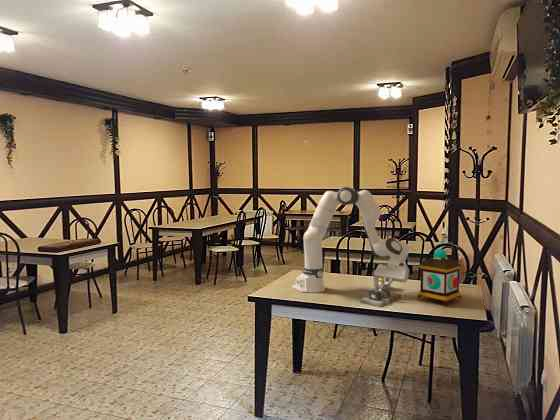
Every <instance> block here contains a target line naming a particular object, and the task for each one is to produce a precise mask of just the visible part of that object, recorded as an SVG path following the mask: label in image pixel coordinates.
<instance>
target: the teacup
mask: <svg viewBox="0 0 560 420" xmlns="http://www.w3.org/2000/svg"><path fill="white" fill-rule="evenodd" d="M378 279H379V278H376V277H375V276H374V275H373V276H372V280H373V287H374V288H375V289H376V291H379V281H378ZM389 281H390V280H387V281H386V282H389ZM391 285H392V283H391V284H390V285H389V286H384V283H383V291H388V290H389V289H390V287H391Z"/></svg>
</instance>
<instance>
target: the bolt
mask: <svg viewBox="0 0 560 420" xmlns="http://www.w3.org/2000/svg"><path fill="white" fill-rule="evenodd" d="M378 281H379V290H378V291H380V292H381V296H383V295H385V292H386V291H385V290H383V283H384V279H383V278H379V279H378ZM384 291H385V292H384ZM371 298H374V299H376V294H371Z"/></svg>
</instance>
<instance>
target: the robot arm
mask: <svg viewBox="0 0 560 420" xmlns="http://www.w3.org/2000/svg"><path fill="white" fill-rule="evenodd" d="M340 204H341V205H344V206H350V205H356V206H357V208H358V210H359V212H360V214H361V217H362V224H363V225H362V226H363V228H364V231H365V233H366V236H367V239H368V241H369V245H370V250H371V253H372V255H373V256H374V257H375V258H377V259H382V258H385V257H387V256H388V257H389V259H388V261H387V263H386V264H383V263H381V264H378V265H377V267H376V269H375V270H374V271H373V277H374V276H375V277H376V278H383V279H384V286H389V285H390V284H391V285H392V284H393V282H398V283H406V282H407V281H408V279H409V273H410V269H409V267H408V265H407V264H406V263H405V262H406V260H407V258H408V256H409V252H410V247H409V244H408V243H407V242H405V241H401V240H397V239H395V238H393V237H388V238H384V239H383V240H381V239H379V236H378V235H379V234H378V233H377V230H376V223H377V221H379V218H380V217H381V213H382V212H381V209H380V205H378V202H377V201H376V199H375V198H374V196H373V195H372V193H371V192H370V191H369V190H366V189H362V190H360V191H356V189H354V187H352V186H348V185H345V186H342V187H341V188H340V189H339V190H338V191H337V192H336V191H333V190H327V191H325V192H324V193H323V194H322V197H320V200H319V202H318V204H317V205H316V209H315V211H314V213H313V216H312V218H311V221H310V222H309V226H308V228H307V230H306V231H305V232H304V234H303V252H304V254H303V255H304V267H302V268H301V270H302V272H301V273H300V274H299V276H297V277H296V278H295V284H292V285H291V288H293V289H294V290H297V291H298V292H301V293H322V292H325V291H326V286H325V280H324V268H323V249H322V247H323V245H322V241H323V239H324V237H325V235H326V232H327V229H328V227H329V226H330V223H331V221H332V218H333V216H334V214H335V212H336V210H337V208H338V206H339V205H340ZM387 280H390V281H389V282H386V281H387Z"/></svg>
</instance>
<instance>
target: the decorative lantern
mask: <svg viewBox="0 0 560 420" xmlns="http://www.w3.org/2000/svg"><path fill="white" fill-rule="evenodd" d="M418 266H419V269H420V290H419V292H418V294H417V300H418V301H419V302H420V301H421V300H422V298H426V299H430V300H434V301H439V302H443V305H444V307H445V308H447V307H448V303H449V302H451V301H453V300H456V299H457V301H458V302H461V301H462V294H461V292H460V289H459V288H460V286H459V285H460V269H461V268H462V264H461V263H459V262H458V261H455V260H453V259H451V258H450V256H448V253H447V252H446V250H445V249H443V248H441V247H440V248H438V249H436V250H435V251H434V252H433V256H431V258H429V259H427V260H424V261H423V262H420V263H419V265H418Z"/></svg>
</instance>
